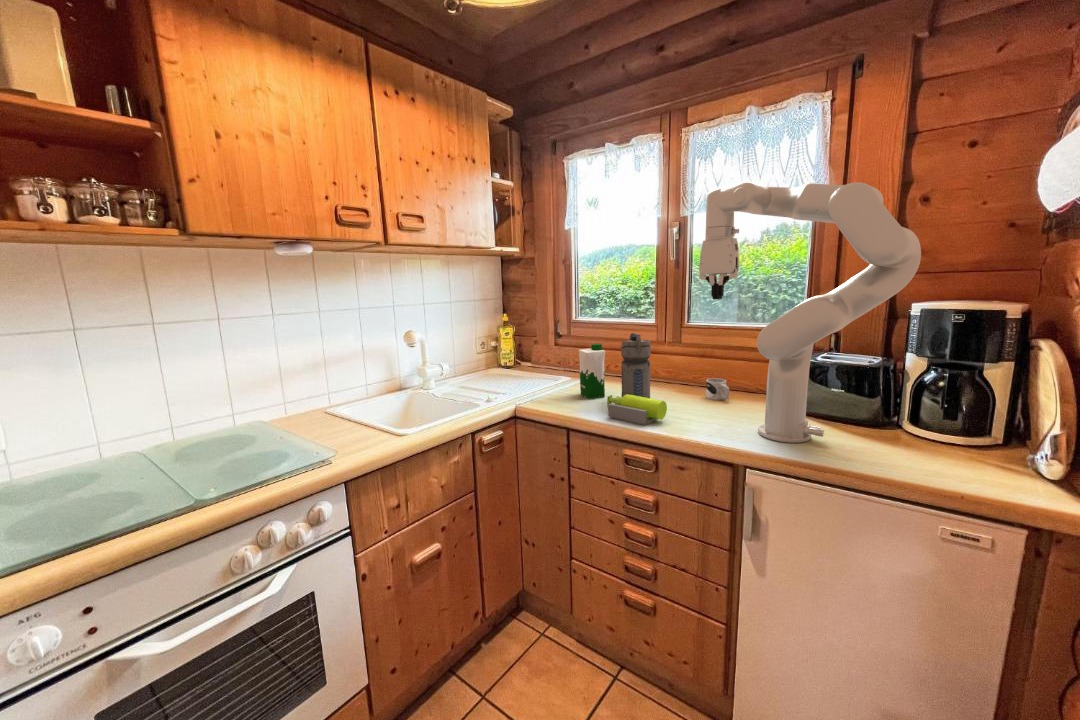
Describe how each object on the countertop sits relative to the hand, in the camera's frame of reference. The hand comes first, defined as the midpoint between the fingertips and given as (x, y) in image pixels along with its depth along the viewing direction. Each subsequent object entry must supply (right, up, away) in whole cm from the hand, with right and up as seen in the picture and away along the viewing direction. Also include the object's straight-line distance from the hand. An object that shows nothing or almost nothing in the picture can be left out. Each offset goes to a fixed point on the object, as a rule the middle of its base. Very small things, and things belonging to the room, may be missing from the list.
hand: (717, 298), depth 125 cm
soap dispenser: (-15, -34, +5) cm, 37 cm away
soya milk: (-32, -32, +39) cm, 60 cm away
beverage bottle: (-17, -33, +30) cm, 48 cm away
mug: (+12, -32, +29) cm, 45 cm away
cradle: (-21, -36, +12) cm, 44 cm away
